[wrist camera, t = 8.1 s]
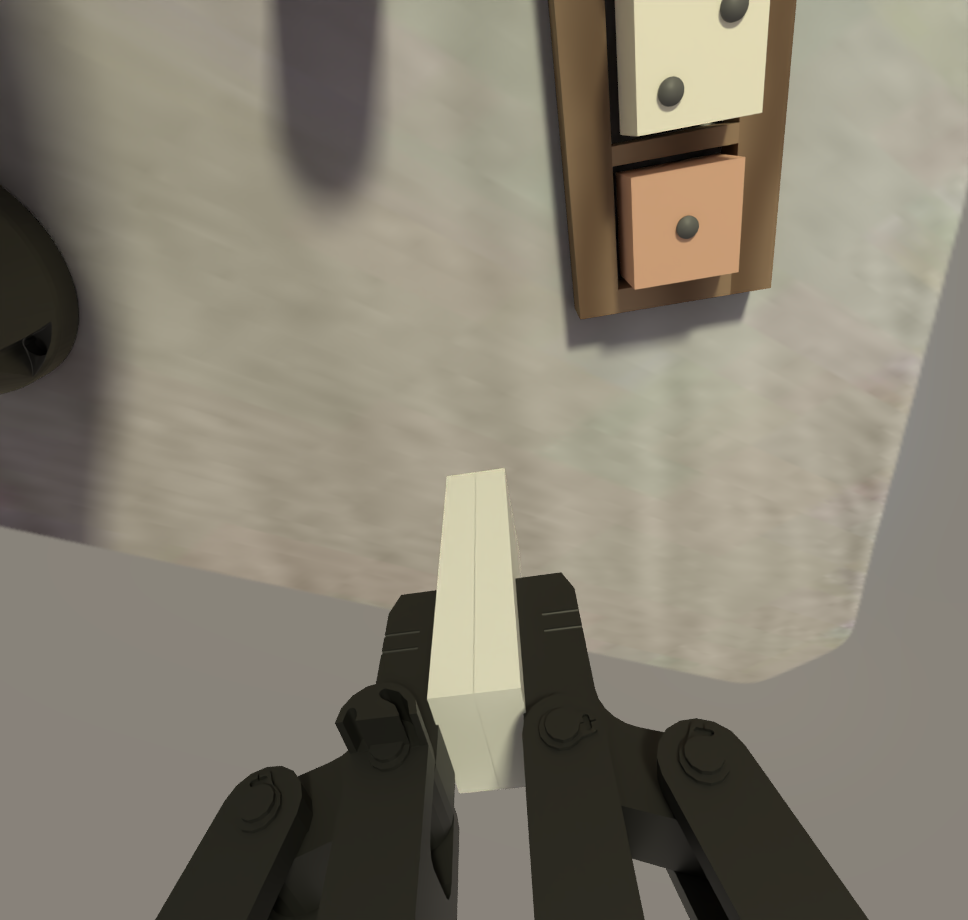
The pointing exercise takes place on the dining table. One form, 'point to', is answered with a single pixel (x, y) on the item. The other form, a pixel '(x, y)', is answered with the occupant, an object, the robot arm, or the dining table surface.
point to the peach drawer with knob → (680, 220)
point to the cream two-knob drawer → (689, 62)
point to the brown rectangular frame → (593, 158)
